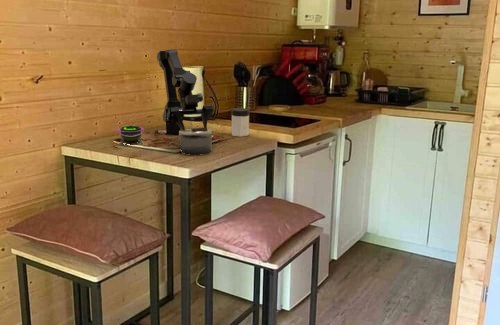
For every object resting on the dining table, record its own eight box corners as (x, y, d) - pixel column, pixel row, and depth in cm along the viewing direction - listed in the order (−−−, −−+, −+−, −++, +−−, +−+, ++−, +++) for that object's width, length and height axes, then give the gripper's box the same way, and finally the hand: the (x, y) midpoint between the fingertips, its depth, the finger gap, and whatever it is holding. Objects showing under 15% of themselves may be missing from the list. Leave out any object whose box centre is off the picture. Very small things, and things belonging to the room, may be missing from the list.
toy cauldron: (113, 150, 204) (112, 124, 201) (112, 142, 218) (111, 117, 215) (151, 148, 208) (150, 122, 205) (147, 140, 222) (146, 115, 219)
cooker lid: (175, 132, 206) (174, 126, 206) (205, 130, 211) (205, 124, 211) (184, 136, 194) (184, 129, 194) (216, 133, 199) (216, 127, 199)
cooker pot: (175, 148, 209) (174, 132, 207) (204, 145, 214) (204, 130, 212) (185, 156, 196) (184, 140, 195) (216, 153, 202) (216, 137, 200)
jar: (236, 137, 230) (236, 111, 226) (227, 134, 236) (227, 108, 233) (252, 135, 234) (253, 110, 231) (243, 132, 241) (243, 107, 238)
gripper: (167, 87, 199) (176, 119, 193) (212, 85, 207) (221, 116, 200) (163, 104, 208) (171, 135, 202) (206, 101, 216) (215, 132, 209)
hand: (195, 129), depth 203 cm, fingers open, 9 cm apart
